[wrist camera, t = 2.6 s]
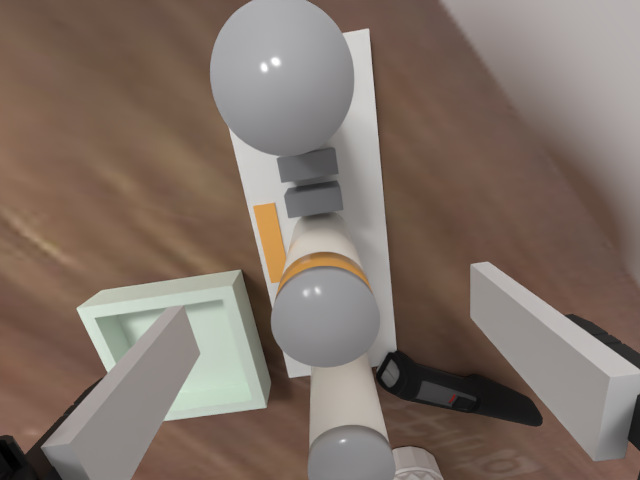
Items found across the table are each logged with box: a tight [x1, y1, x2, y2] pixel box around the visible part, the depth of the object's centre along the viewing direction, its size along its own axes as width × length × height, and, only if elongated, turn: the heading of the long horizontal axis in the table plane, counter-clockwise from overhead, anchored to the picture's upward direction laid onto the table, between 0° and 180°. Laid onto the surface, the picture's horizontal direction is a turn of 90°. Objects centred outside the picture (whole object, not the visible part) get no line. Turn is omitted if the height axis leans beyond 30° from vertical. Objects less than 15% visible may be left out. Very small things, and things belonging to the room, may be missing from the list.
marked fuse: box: [271, 212, 380, 368], centre depth 18 cm, size 4×4×11 cm
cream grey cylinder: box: [210, 0, 354, 156], centre depth 15 cm, size 4×4×11 cm
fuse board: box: [229, 29, 397, 378], centre depth 22 cm, size 26×10×4 cm, turn 9°
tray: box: [76, 270, 271, 421], centre depth 25 cm, size 12×12×3 cm
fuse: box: [308, 351, 396, 480], centre depth 20 cm, size 4×4×11 cm
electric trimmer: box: [376, 350, 543, 427], centre depth 27 cm, size 4×16×3 cm, turn 68°
